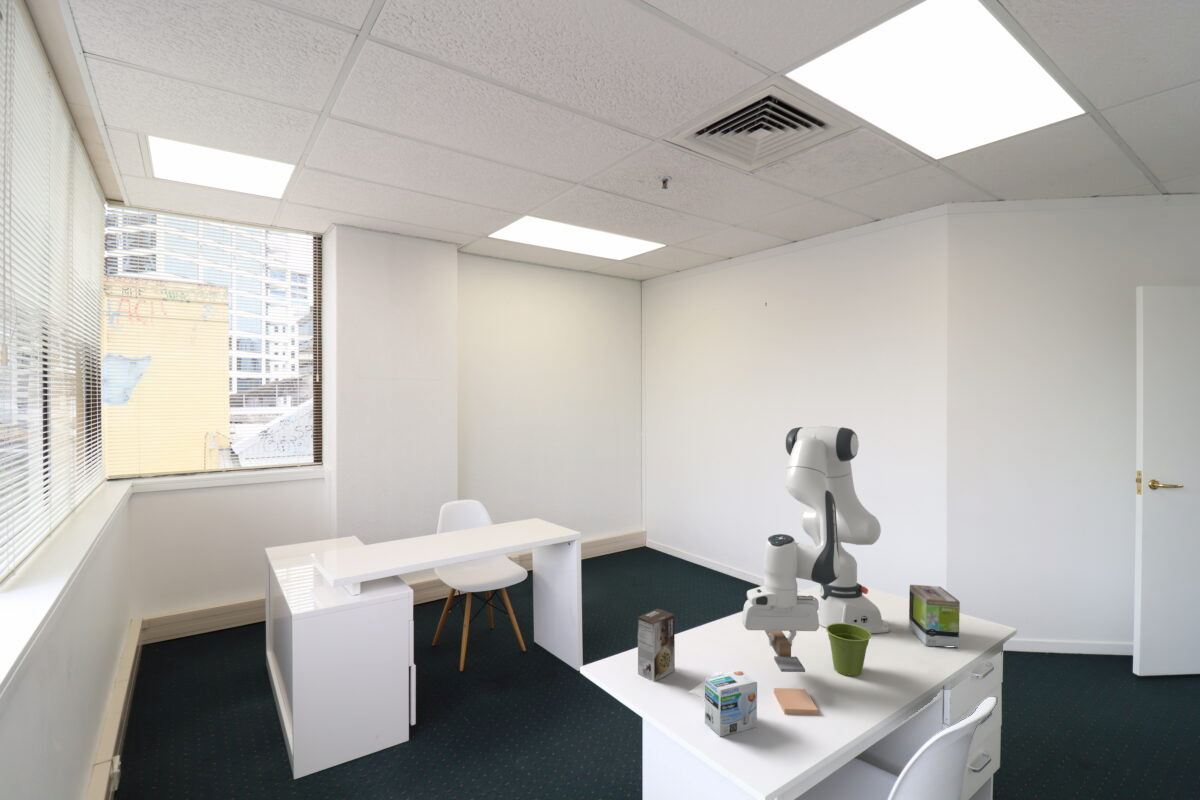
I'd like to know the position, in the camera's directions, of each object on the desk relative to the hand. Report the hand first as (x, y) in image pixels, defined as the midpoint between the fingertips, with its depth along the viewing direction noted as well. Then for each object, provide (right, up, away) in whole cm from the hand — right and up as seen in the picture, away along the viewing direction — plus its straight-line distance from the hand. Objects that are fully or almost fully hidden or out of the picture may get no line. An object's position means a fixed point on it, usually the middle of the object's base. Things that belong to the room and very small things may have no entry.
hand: (780, 645), depth 160 cm
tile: (0, -8, -9) cm, 12 cm away
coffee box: (-34, -9, +2) cm, 35 cm away
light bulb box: (-19, -9, -23) cm, 31 cm away
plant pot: (+20, -9, +3) cm, 22 cm away
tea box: (+57, -9, +26) cm, 63 cm away
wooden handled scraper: (0, -2, -4) cm, 4 cm away
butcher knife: (-20, -9, -5) cm, 22 cm away
